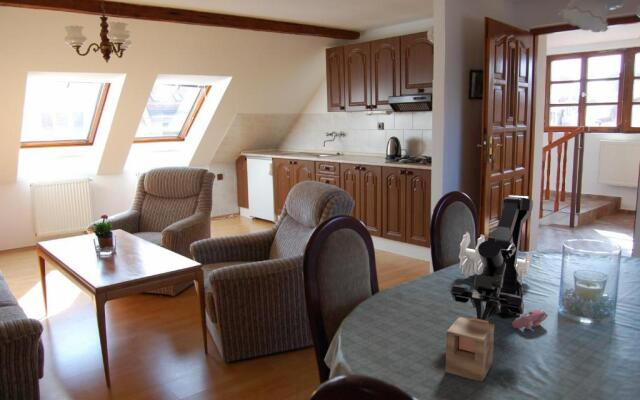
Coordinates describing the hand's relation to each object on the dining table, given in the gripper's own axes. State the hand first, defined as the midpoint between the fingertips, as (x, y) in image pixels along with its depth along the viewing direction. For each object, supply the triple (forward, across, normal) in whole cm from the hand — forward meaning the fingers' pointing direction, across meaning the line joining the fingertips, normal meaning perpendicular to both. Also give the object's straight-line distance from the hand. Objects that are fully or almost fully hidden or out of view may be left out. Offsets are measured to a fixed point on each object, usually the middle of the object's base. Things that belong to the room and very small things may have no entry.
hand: (479, 327), depth 131 cm
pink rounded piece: (-12, +8, +23) cm, 28 cm away
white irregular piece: (-38, -11, +48) cm, 63 cm away
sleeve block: (+11, 0, -1) cm, 11 cm away
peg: (+5, 0, -2) cm, 6 cm away
